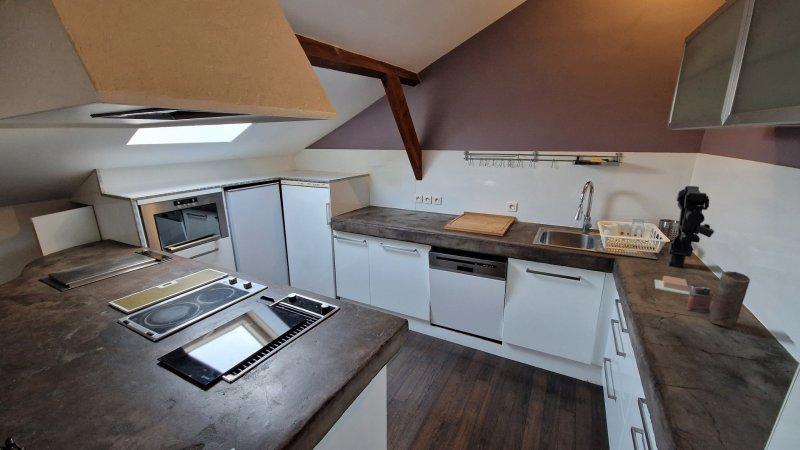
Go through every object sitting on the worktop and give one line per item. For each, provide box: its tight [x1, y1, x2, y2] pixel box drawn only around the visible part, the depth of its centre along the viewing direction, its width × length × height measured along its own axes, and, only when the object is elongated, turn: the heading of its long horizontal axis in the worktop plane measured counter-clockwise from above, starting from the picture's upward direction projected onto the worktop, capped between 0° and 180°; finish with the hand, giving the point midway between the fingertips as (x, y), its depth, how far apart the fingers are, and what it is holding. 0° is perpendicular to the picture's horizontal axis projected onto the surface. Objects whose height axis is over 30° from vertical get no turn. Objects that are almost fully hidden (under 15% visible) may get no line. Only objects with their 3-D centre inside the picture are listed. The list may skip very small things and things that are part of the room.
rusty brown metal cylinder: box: [707, 270, 751, 328], centre depth 119 cm, size 8×7×20 cm
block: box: [662, 275, 689, 291], centre depth 150 cm, size 2×8×8 cm
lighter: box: [685, 286, 714, 313], centre depth 130 cm, size 8×3×10 cm, turn 84°
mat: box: [654, 279, 694, 296], centre depth 149 cm, size 10×14×1 cm
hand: (684, 250), depth 158 cm, fingers closed
